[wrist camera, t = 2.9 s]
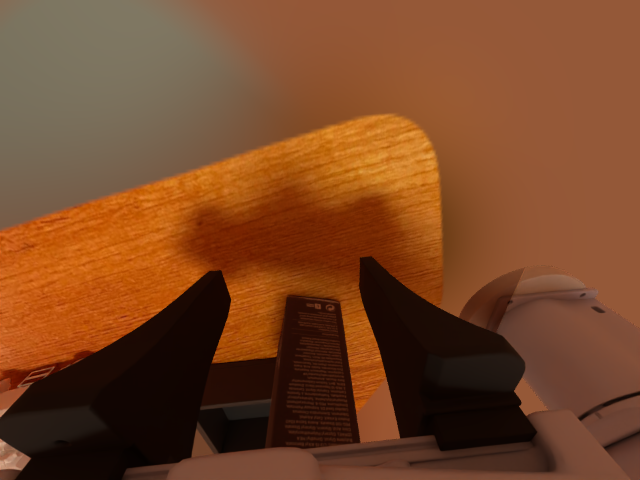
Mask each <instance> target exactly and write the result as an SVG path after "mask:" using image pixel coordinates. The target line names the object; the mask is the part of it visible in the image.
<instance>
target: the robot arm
mask: <svg viewBox="0 0 640 480" xmlns="http://www.w3.org/2000/svg"><path fill="white" fill-rule="evenodd" d="M359 289H360V293H361V298H362V302H363V305H364V308H365V311H366V314H367V317H368V319H369V322H370V325H371V327H372V330H373V333H374V336H375V338H376V341H377V344H378V347H379V350H380V354H381V358H382V362H383V365H384V369H385V373H386V377H387V382H388V385H389V390H390V394H391V398H392V403H393V407H394V411H395V416H396V420H397V425H398V430H399V434H400V439H392V440H383V441H374V442H366V443H355V444H346V445H337V446H328V447H319V448H310V449H300V448H296V447H276V448H267V449H258V450H249V451H239V452H230V453H221V454H212V455H202V456H196V457H192V451H193V445H194V438H195V433H196V428H197V423H198V418H199V413H200V408H201V403H202V399H203V394H204V390H205V386H206V382H207V378H208V374H209V370H210V366H211V363H212V360H213V357H214V354H215V351H216V348H217V346H218V343H219V340H220V337H221V335H222V332H223V329H224V326H225V323H226V321H227V318H228V313H229V309H230V303H231V298H230V295H229V292H228V289H227V286H226V283H225V280H224V277H223V274H222V271H221V270H217V271H209V272H208V273H206V274H205V275H204V276H203V277H202V278H200V279H199V280H198V281H197V282H196V283H195V284H193V285H192V286H191V287H190V288H189V289H188V290H186V291H185V292H184V293H183V294H182V295H181V296H179V297H178V298H177V299H176V300H175V301H173V302H172V303H171V304H169V305H168V306H167V307H166V308H164V309H163V310H162V311H161V312H159V313H158V314H157V315H155V316H154V317H153V318H151V319H150V320H148V321H147V322H145V323H144V324H142V325H141V326H139V327H138V328H136V329H135V330H133V331H132V332H130V333H128V334H127V335H125V336H123V337H122V338H120V339H119V340H117V341H115V342H114V343H112V344H110V345H108V346H107V347H105V348H103V349H101V350H99V351H98V352H96V353H94V354H92V355H90V356H88V357H86V358H84V359H82V360H80V361H78V362H76V363H74V364H72V365H70V366H68V367H66V368H64V369H62V370H60V371H58V372H55V373H53V374H51V375H49V376H47V377H45V378H43V379H40V380H38V381H36V382H34V383H32V384H31V385H30V386H29V387H28V388H27V389H26V391H25V392H24V393H23V394H22V395H21V396H20V397H19V398H18V399H17V400H16V401H15V402H14V403H13V404H12V405H11V406H10V407H9V409H8V410H7V411H6V412H5V413H4V414H3V415H2V416H1V417H0V439H1V440H2V441H4V442H5V443H7V444H8V445H10V446H12V447H13V448H15V449H16V450H18V451H20V452H21V453H23V454H25V455H26V456H28V457H29V458H31V459H30V460H29V462H28V463H27V464H26V466H25V467H24V468H23V469H22V471H21V470H17V469H1V470H0V480H640V328H638V327H637V326H635V325H634V324H632V323H631V322H629V321H628V320H626V319H625V318H623V317H622V316H620V315H619V314H617V313H616V312H614V311H613V310H611V309H610V308H608V307H607V306H605V305H604V304H603V303H601V302H600V301H598V300H596V299H595V297H596V295H597V294H598V290H596V289H595V288H583V289H573V290H563V291H552V292H542V293H532V294H522V295H512V296H503V297H500V298H499V299H498V300H497V302H496V305H495V307H494V310H493V312H492V314H491V317H490V319H489V322H488V324H487V327H486V329H484V328H481V327H479V326H476V325H474V324H471V323H469V322H467V321H465V320H462V319H460V318H458V317H456V316H454V315H452V314H450V313H448V312H446V311H444V310H442V309H440V308H438V307H436V306H435V305H433V304H431V303H429V302H428V301H426V300H425V299H423V298H422V297H420V296H418V295H417V294H415V293H414V292H412V291H411V290H410V289H408V288H407V287H406V286H404V285H403V284H402V283H401V282H399V281H398V280H397V279H396V278H395V277H393V276H392V275H391V274H390V273H389V272H388V271H387V270H386V269H384V268H383V267H382V266H381V265H380V264H379V263H378V262H377V261H376V260H375V259H374V258H373V257H372V256H371V257H360V278H359ZM521 378H523V379H524V380H525V381H526V383H527V384H528V385H529V386H530V387H531V389H532V390H533V391H534V392H535V394H536V395H537V396H538V397H539V399H540V400H541V401H542V402H543V404H544V405H545V406H546V407H547V409H548V411H539V412H534V413H531V414H529V415H527V416H525V414H524V413H523V411H522V410H521V409H520V407H519V406H520V405H521V400H520V399H519V397H518V396H517V395H516V393H515V392H514V390H515V388H516V386H517V385H518V383H519V381H520V380H521ZM191 457H192V458H191Z"/></svg>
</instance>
